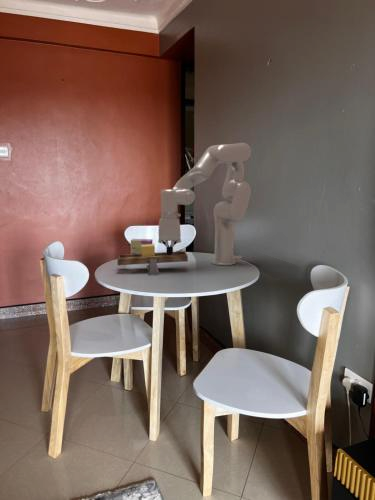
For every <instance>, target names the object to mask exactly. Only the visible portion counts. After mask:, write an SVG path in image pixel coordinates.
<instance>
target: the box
mask: <svg viewBox="0 0 375 500" xmlns="http://www.w3.org/2000/svg"><path fill="white" fill-rule="evenodd" d="M146 244H153V239H147V238H132V239H130V254H142V249H141V245H146Z"/></svg>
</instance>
